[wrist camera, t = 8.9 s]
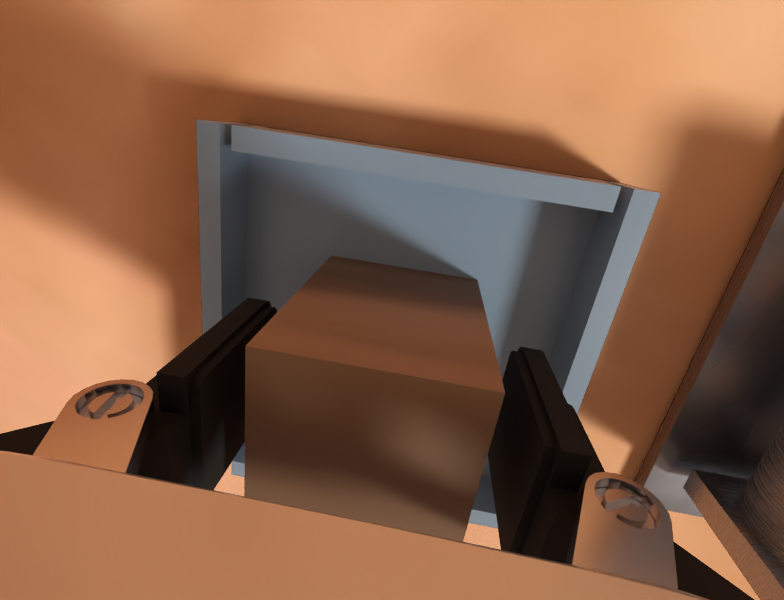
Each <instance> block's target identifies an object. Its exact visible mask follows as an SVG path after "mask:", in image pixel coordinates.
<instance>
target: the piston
mask: <svg viewBox="0 0 784 600" xmlns="http://www.w3.org/2000/svg"><path fill="white" fill-rule="evenodd" d="M683 488H684V489H685V491H686V492H687V494H688V495H689V497H690V498H691V500H692V501H693V502H694V504H695V505H696V507H697V508H698V510H699V511H700V513H701V514H702V516H703V517H704V518H705V520H706V521H707V523H708V524H709V526H710V527H711V529H712V530H713V532H714V533H715V534H716V536H717V537H718V539H719V540H720V542H721V543H722V545H723V546H724V548H725V549H726V550H727V552H728V553H729V555H730V556H731V558H732V559H733V561H734V562H735V564H736V565H737V566H738V568H739V569H740V571H741V572H742V574H743V575H744V577H745V578H746V579H747V581H748V582H749V584H750V585H751V587H752V588H753V590H754V591H755V593H756V594H757V595H758V597H759V598H760V600H784V423H783V424H782V426H781V427H780V429H779V431H778V432H777V434H776V436H775V437H774V439H773V441H772V442H771V444H770V445H769V447H768V449H767V450H766V452H765V454H764V455H763V457H762V459H761V460H760V462H759V463H758V465H757V467H756V468H755V470H754V472H753V473H752V475H751V477H750V478H749V480H748V479H743V478H738V477H732V476H727V475H722V474H717V473H711V472H706V471H701V470H696V469H692V471H691V473H690V475H689V477H688V479H687V481H686V482H685V484H684V486H683Z"/></svg>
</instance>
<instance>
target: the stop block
mask: <svg viewBox="0 0 784 600" xmlns="http://www.w3.org/2000/svg"><path fill="white" fill-rule="evenodd" d="M504 395H505V390H504V386H503V382H502V378H501V374H500V370H499V366H498V362H497V357H496V353H495V349H494V345H493V341H492V337H491V333H490V329H489V325H488V321H487V317H486V313H485V308H484V304H483V300H482V296H481V292H480V288H479V284H478V280H475V279H469V278H463V277H457V276H451V275H445V274H439V273H433V272H427V271H421V270H415V269H409V268H403V267H397V266H391V265H385V264H379V263H373V262H367V261H361V260H355V259H349V258H343V257H337V256H330V257H329V258H328V259H327V261H326V262H325V263H324V264H323V265H322V266H321V267H320V268H319V269H318V270H317V271H316V272H315V273H314V274H313V275H312V276H311V277H310V278H309V279H308V281H307V282H306V283H305V284H304V285H303V286H302V287H301V288H300V289H299V290H298V291H297V292H296V293H295V294H294V295H293V296H292V297H291V298H290V300H289V301H288V302H287V303H286V304H285V305H284V306H283V307H282V308H281V309H280V310H279V311H278V312H277V313H276V314H275V315H274V316H273V317H272V318H271V320H270V321H269V322H268V323H267V324H266V325H265V326H264V327H263V328H262V329H261V330H260V331H259V332H258V333H257V334H256V335H255V336H254V337H253V338H252V340H251V341H250V342H249V343H248V344H247V345H246V346H245V496H244V497H248V498H253V499H258V500H263V501H268V502H273V503H278V504H283V505H288V506H292V507H297V508H302V509H307V510H312V511H317V512H322V513H327V514H331V515H336V516H341V517H346V518H351V519H356V520H360V521H365V522H370V523H375V524H380V525H385V526H389V527H394V528H399V529H404V530H409V531H413V532H418V533H423V534H428V535H433V536H437V537H442V538H447V539H452V540H457V541H461V542H463V539H464V536H465V532H466V529H467V525H468V522H469V518H470V515H471V511H472V508H473V504H474V501H475V497H476V494H477V490H478V487H479V483H480V480H481V476H482V473H483V469H484V465H485V462H486V458H487V455H488V451H489V448H490V444H491V441H492V437H493V434H494V430H495V427H496V423H497V420H498V416H499V413H500V409H501V406H502V402H503V399H504Z"/></svg>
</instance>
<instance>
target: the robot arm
mask: <svg viewBox="0 0 784 600" xmlns="http://www.w3.org/2000/svg"><path fill="white" fill-rule="evenodd" d="M276 313H277V309H276V308H275V307H271V303H270V301H266V300H260V299H254V298H247V299H246V300H245V301H243V302H242V303H241V304H240V305H238V306H237V307H236V308H235V309H234V310H232V311H231V312H230V313H229V314H227V315H226V316H225V317H224V318H223V319H221V320H220V321H219V322H218V323H216V324H215V325H214V326H213V327H212V328H210V329H209V330H208V331H207V332H205V333H204V334H203V335H202V336H201V337H199V338H198V339H197V340H196V341H195V342H193V343H192V344H191V345H190V346H188V347H187V348H186V349H185V350H184V351H182V352H181V353H180V354H179V355H177V356H176V357H175V358H174V359H173V360H171V361H170V362H169V363H168V364H166V365H165V366H164V367H163V368H162V369H160V370H159V371H158V372H157V375H156V376H155V377H154V378H152V379H151V380H150V381H149V382H148V383H146V384H145V383H143V382H139V381H135V380H123V379H121V380H111V381H106V382H102V383H98V384H95V385H92V386H90V387H87V388H85V389H83V390H81V391H80V392H78V393H76V394H75V395H73V396H72V398H71V399H70V400H69V401H68V402H67V403H66V405H65V406H64V408H63V409H62V411H61V412H60V414H59V415H58V417H57V418H56V420H55V421H51V422H47V423H43V424H39V425H35V426H31V427H27V428H23V429H19V430H14V431H10V432H6V433H2V434H0V600H754V599H753V598H751V597H750V596H748V595H747V594H746V593H744V592H743V591H742V590H740V589H739V588H737V587H736V586H735V585H733V584H732V583H730V582H729V581H728V580H726V579H725V578H723V577H722V576H721V575H719V574H718V573H716V572H715V571H714V570H712V569H711V568H710V567H708V566H707V565H705V564H704V563H703V562H701V561H700V560H698V559H697V558H696V557H694V556H693V555H691V554H690V553H689V552H687V551H686V550H684V549H683V548H682V547H680V546H679V545H678V544H676V543H675V542H673V532H672V522H671V519H670V516H669V513H668V511H667V510H666V508H665V507H664V505H663V504H662V502H661V501H660V500H659V499H658V498H657V497H656V496H655V495H654V494H653V493H651V492H650V491H649V490H647V489H646V488H645V487H643V486H642V485H640V484H639V483H637V482H635V481H633V480H631V479H629V478H627V477H624V476H621V475H618V474H616V473H609V472H605V471H604V469H603V467H602V465H601V463H600V461H599V459H598V457H597V455H596V453H595V450H594V448H593V446H592V444H591V442H590V440H589V438H588V436H587V434H586V432H585V430H584V428H583V426H582V424H581V422H580V420H579V418H578V415H577V413H576V411H575V409H574V408H573V406H572V405H570V404H568V403H567V401H566V399H565V397H564V394H563V392H562V390H561V388H560V386H559V384H558V382H557V380H556V377H555V375H554V373H553V371H552V369H551V367H550V365H549V363H548V360H547V358H546V356H545V354H544V352H543V351H542V350H537V349H532V348H526V347H520V348H519V349H518V351H511V353H510V355H509V358H508V362H507V365H506V369H505V372H504V376H503V379H502V382H503V386H504V390H505V395H504V399H503V402H502V406H501V409H500V413H499V416H498V420H497V423H496V427H495V430H494V434H493V437H492V441H491V444H490V448H489V451H488V460H489V467H490V474H491V482H492V489H493V496H494V503H495V510H496V517H497V524H498V531H499V538H500V545H501V550H499V549H494V548H490V547H485V546H480V545H476V544H471V543H466V542H461V541H457V540H452V539H447V538H442V537H437V536H433V535H428V534H423V533H418V532H413V531H409V530H404V529H399V528H394V527H389V526H385V525H380V524H375V523H370V522H365V521H360V520H356V519H351V518H346V517H341V516H336V515H331V514H327V513H322V512H317V511H312V510H307V509H302V508H297V507H292V506H288V505H283V504H278V503H273V502H268V501H263V500H258V499H253V498H248V497H244V496H239V495H234V494H229V493H224V492H219V491H214V488H215V487H216V485H217V484H218V482H219V481H220V479H221V477H222V476H223V474H224V473H225V471H226V470H227V468H228V467H229V465H230V464H231V462H232V461H233V459H234V458H235V456H236V454H237V453H238V451H239V450H240V448H241V447H242V445H243V444H244V442H245V346H246V345H247V344H248V343H249V342H250V341H251V340H252V338H253V337H254V336H255V335H256V334H257V333H258V332H259V331H260V330H261V329H262V328H263V327H264V326H265V325H266V324H267V323H268V322H269V321H270V320H271V318H272V317H273V316H274V315H275V314H276Z"/></svg>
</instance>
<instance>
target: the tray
mask: <svg viewBox="0 0 784 600" xmlns="http://www.w3.org/2000/svg"><path fill="white" fill-rule="evenodd" d="M196 136H197V169H198V202H199V235H200V268H201V302H202V335H203V334H204V333H205V332H207V331H208V330H209V329H210V328H212V327H213V326H214V325H215V324H216V323H218V322H219V321H220V320H221V319H223V318H224V317H225V316H226V315H227V314H229V313H230V312H231V311H232V310H234V309H235V308H236V307H237V306H238V305H240V304H241V303H242V302H243V301H245V300H246V299H247V298H254V299H260V300H266V301H270V303H271V307H275V308H276V309H277V312H278V311H279V310H280V309H281V308H282V307H283V306H284V305H285V304H286V303H287V302H288V301H289V300H290V298H291V297H292V296H293V295H294V294H295V293H296V292H297V291H298V290H299V289H300V288H301V287H302V286H303V285H304V284H305V283H306V282H307V281H308V279H309V278H310V277H311V276H312V275H313V274H314V273H315V272H316V271H317V270H318V269H319V268H320V267H321V266H322V265H323V264H324V263H325V262H326V261H327V259H328V258H329V257H330V256H337V257H343V258H349V259H355V260H361V261H367V262H373V263H379V264H385V265H391V266H397V267H403V268H409V269H415V270H421V271H427V272H433V273H439V274H445V275H451V276H457V277H463V278H469V279H475V280H478V284H479V288H480V292H481V296H482V300H483V304H484V308H485V313H486V317H487V321H488V325H489V329H490V333H491V337H492V341H493V345H494V349H495V353H496V357H497V362H498V366H499V370H500V374H501V378H502V379H503V376H504V372H505V369H506V365H507V362H508V358H509V355H510V353H511V351H518V349H519V348H520V347H526V348H532V349H537V350H542V351H543V352H544V354H545V356H546V358H547V360H548V363H549V365H550V367H551V369H552V371H553V373H554V375H555V377H556V380H557V382H558V384H559V386H560V388H561V390H562V392H563V394H564V397H565V399H566V401H567V403H568V404H570V405H572V406H573V408H574V409H575V411H576V413H578V411H579V408H580V405H581V403H582V400H583V397H584V395H585V392H586V389H587V387H588V384H589V381H590V379H591V376H592V374H593V371H594V368H595V366H596V363H597V360H598V358H599V355H600V352H601V350H602V347H603V345H604V342H605V339H606V337H607V334H608V331H609V329H610V326H611V323H612V321H613V318H614V315H615V313H616V310H617V308H618V305H619V302H620V300H621V297H622V294H623V292H624V289H625V286H626V284H627V281H628V279H629V276H630V273H631V271H632V268H633V265H634V263H635V260H636V257H637V255H638V252H639V250H640V247H641V244H642V242H643V239H644V236H645V234H646V231H647V228H648V226H649V223H650V220H651V218H652V215H653V213H654V210H655V207H656V205H657V202H658V199H659V197H660V194H661V193H659V192H655V191H651V190H647V189H643V188H639V187H635V186H631V185H627V184H623V183H617V182H611V181H604V180H598V179H592V178H585V177H579V176H573V175H566V174H560V173H554V172H547V171H541V170H535V169H528V168H522V167H516V166H509V165H503V164H497V163H490V162H484V161H478V160H471V159H465V158H459V157H452V156H446V155H440V154H433V153H427V152H421V151H414V150H408V149H402V148H396V147H389V146H383V145H377V144H370V143H364V142H358V141H351V140H345V139H339V138H332V137H326V136H320V135H313V134H307V133H301V132H294V131H288V130H282V129H275V128H269V127H263V126H256V125H250V124H244V123H237V122H224V121H211V120H198V119H196ZM232 475H237V476H242V477H245V442H244V444H243V445H242V447H241V448H240V450H239V451H238V453H237V454H236V456H235V458H234V459H233V461H232ZM468 523H473V524H478V525H483V526H488V527H493V528H498V524H497V517H496V510H495V503H494V496H493V489H492V482H491V474H490V467H489V460H488V455H487V458H486V462H485V465H484V469H483V473H482V476H481V480H480V483H479V487H478V490H477V494H476V497H475V501H474V504H473V508H472V511H471V515H470V518H469V522H468Z"/></svg>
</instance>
